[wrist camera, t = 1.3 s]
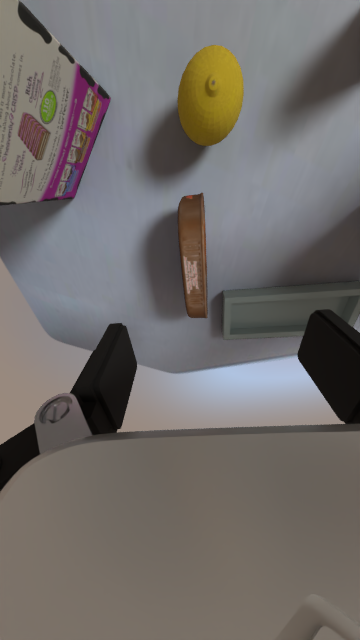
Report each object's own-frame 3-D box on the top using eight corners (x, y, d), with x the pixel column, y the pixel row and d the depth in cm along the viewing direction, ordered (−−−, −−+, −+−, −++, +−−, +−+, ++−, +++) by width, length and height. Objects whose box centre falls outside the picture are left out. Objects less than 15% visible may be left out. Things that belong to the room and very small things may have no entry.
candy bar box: (64, 52, 18) (-289, -325, 5) (112, 98, 20) (-54, -90, 6) (34, 171, 24) (-175, 151, 10) (74, 200, 25) (-62, 217, 12)
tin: (207, 300, 32) (212, 331, 25) (188, 301, 33) (187, 332, 26) (204, 191, 24) (209, 193, 17) (178, 194, 24) (173, 197, 17)
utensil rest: (358, 281, 29) (371, 288, 27) (340, 324, 34) (349, 333, 32) (222, 290, 31) (224, 298, 29) (221, 330, 36) (223, 339, 34)
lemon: (222, 60, 18) (240, -13, 12) (240, 132, 21) (263, 106, 14) (170, 100, 20) (159, 57, 13) (193, 162, 23) (194, 152, 16)
